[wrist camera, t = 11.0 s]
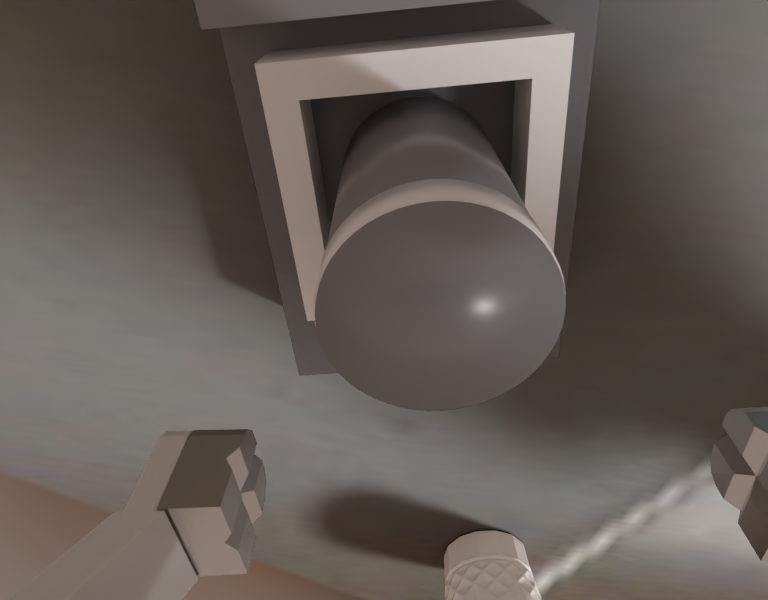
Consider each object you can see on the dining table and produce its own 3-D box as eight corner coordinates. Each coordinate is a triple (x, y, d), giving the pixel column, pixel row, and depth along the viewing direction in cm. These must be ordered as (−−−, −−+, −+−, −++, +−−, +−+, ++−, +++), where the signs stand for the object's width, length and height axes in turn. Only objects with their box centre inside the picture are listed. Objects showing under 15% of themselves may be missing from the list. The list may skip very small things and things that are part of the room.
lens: (497, 88, 19) (582, 190, 11) (493, 238, 23) (556, 404, 14) (331, 102, 20) (291, 213, 11) (351, 249, 23) (331, 418, 15)
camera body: (569, -149, 20) (658, -196, 13) (534, 301, 31) (573, 392, 24) (224, -110, 20) (153, -138, 14) (310, 318, 31) (292, 411, 25)
